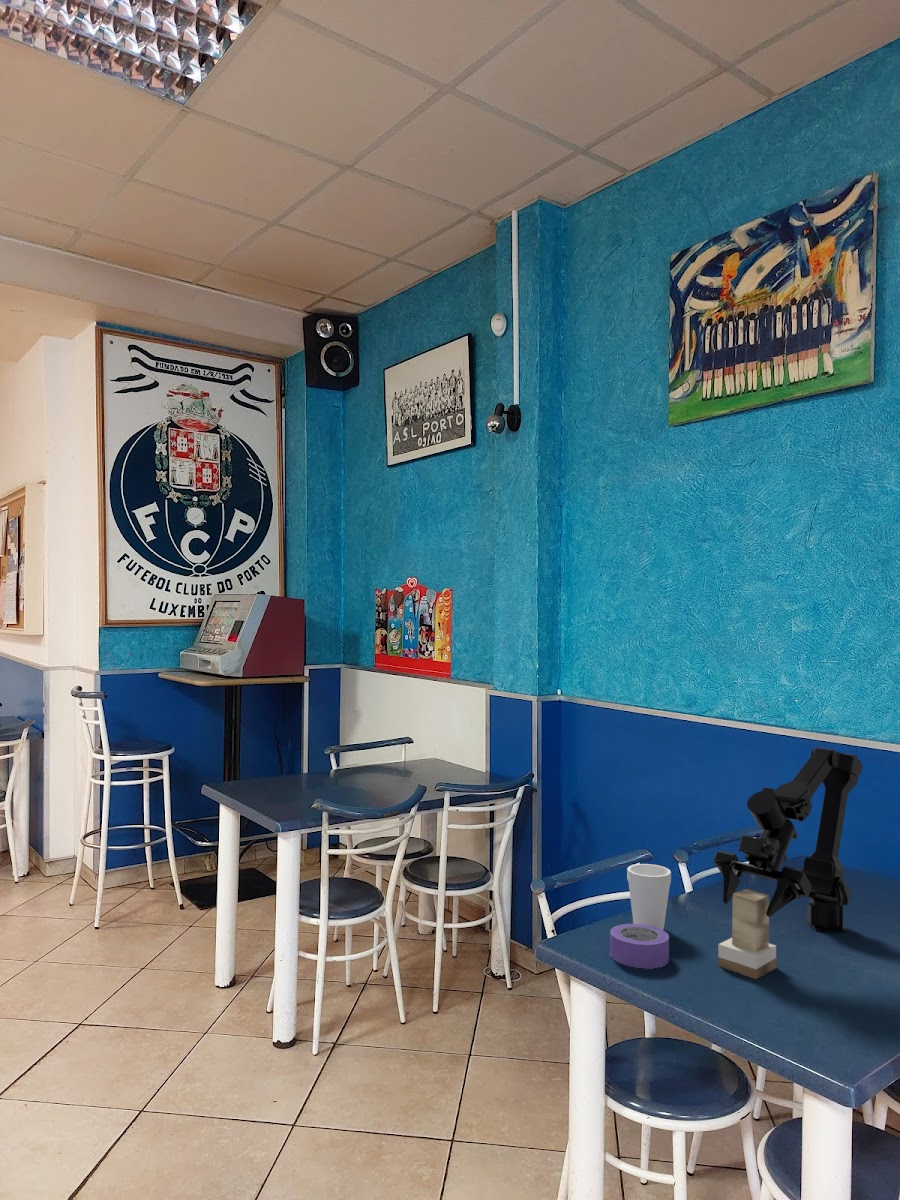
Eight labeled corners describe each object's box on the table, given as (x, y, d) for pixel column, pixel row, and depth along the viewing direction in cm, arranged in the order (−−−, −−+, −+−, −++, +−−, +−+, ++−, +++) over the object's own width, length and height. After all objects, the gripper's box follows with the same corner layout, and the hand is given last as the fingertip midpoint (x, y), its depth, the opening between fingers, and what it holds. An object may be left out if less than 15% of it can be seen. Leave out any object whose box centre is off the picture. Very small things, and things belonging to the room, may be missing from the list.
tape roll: (631, 942, 184) (631, 918, 184) (680, 958, 176) (680, 933, 176) (598, 957, 176) (598, 932, 176) (648, 975, 167) (648, 949, 167)
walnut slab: (739, 958, 177) (740, 946, 177) (776, 971, 171) (776, 958, 171) (718, 969, 171) (718, 956, 171) (755, 982, 165) (755, 969, 165)
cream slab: (738, 946, 177) (738, 934, 177) (776, 958, 171) (776, 945, 171) (718, 956, 171) (718, 944, 171) (756, 969, 165) (756, 956, 165)
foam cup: (672, 924, 194) (672, 866, 194) (668, 939, 185) (669, 878, 185) (629, 919, 197) (630, 862, 197) (624, 933, 188) (624, 873, 188)
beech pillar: (745, 938, 174) (746, 888, 174) (768, 946, 170) (769, 895, 170) (732, 944, 171) (732, 894, 171) (755, 952, 167) (755, 901, 167)
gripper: (717, 811, 181) (688, 875, 173) (804, 829, 167) (776, 898, 159) (737, 842, 186) (709, 905, 178) (823, 862, 172) (796, 931, 164)
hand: (745, 909), depth 170 cm, fingers open, 9 cm apart
